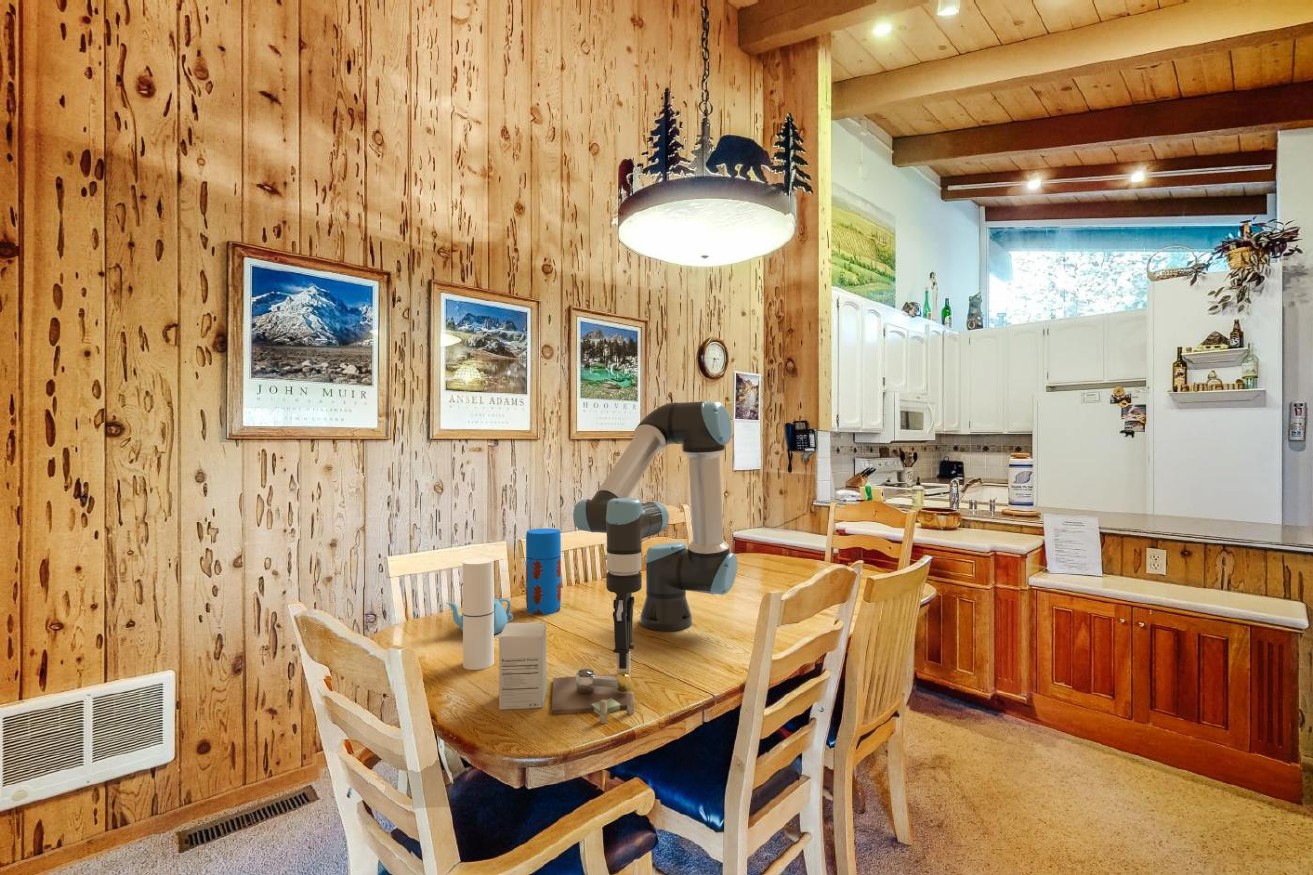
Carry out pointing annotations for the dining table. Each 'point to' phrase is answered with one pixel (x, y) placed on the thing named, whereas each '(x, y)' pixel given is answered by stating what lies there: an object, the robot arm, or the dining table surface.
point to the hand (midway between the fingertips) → (623, 681)
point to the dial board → (589, 699)
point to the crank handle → (601, 681)
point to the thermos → (543, 571)
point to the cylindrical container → (478, 613)
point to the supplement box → (522, 666)
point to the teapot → (499, 615)
